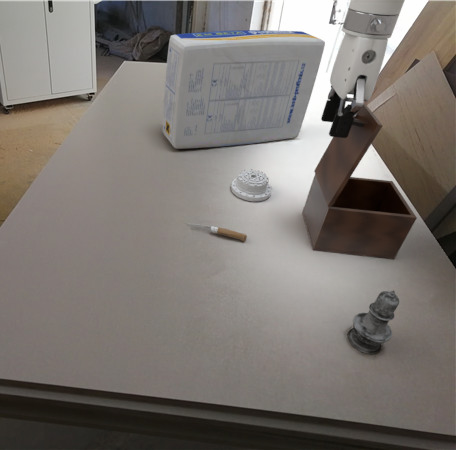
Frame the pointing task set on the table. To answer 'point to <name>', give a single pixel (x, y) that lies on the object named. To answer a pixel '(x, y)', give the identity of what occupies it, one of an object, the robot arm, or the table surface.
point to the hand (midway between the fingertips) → (333, 127)
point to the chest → (359, 219)
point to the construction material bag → (238, 86)
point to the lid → (346, 154)
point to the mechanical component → (251, 186)
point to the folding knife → (220, 231)
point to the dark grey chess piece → (374, 324)
